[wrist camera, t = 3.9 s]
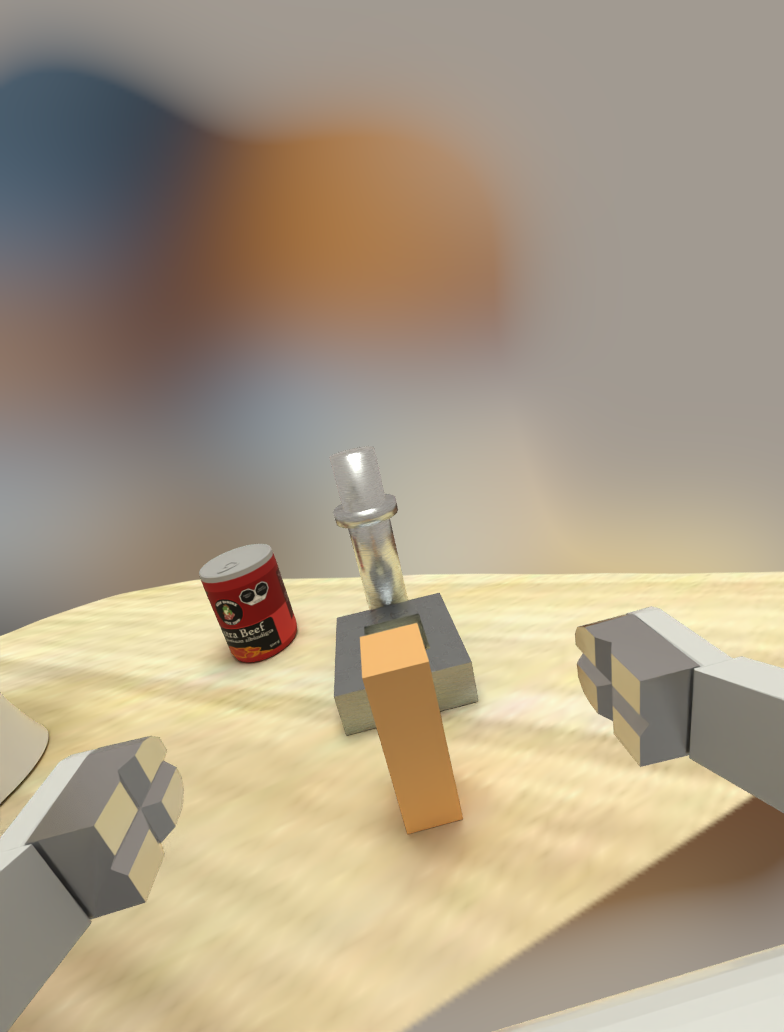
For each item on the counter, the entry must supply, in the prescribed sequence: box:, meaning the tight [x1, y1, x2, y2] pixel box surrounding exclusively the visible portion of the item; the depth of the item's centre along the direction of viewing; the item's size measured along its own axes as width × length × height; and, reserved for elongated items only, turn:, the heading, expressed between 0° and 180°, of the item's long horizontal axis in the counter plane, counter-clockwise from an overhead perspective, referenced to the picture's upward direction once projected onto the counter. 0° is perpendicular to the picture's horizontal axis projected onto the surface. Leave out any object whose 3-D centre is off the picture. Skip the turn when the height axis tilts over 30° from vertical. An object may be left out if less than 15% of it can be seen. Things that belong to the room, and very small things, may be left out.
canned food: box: [199, 544, 297, 662], centre depth 45 cm, size 8×8×11 cm
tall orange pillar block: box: [360, 623, 463, 834], centre depth 24 cm, size 4×4×12 cm
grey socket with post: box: [329, 446, 478, 735], centre depth 36 cm, size 16×11×20 cm
